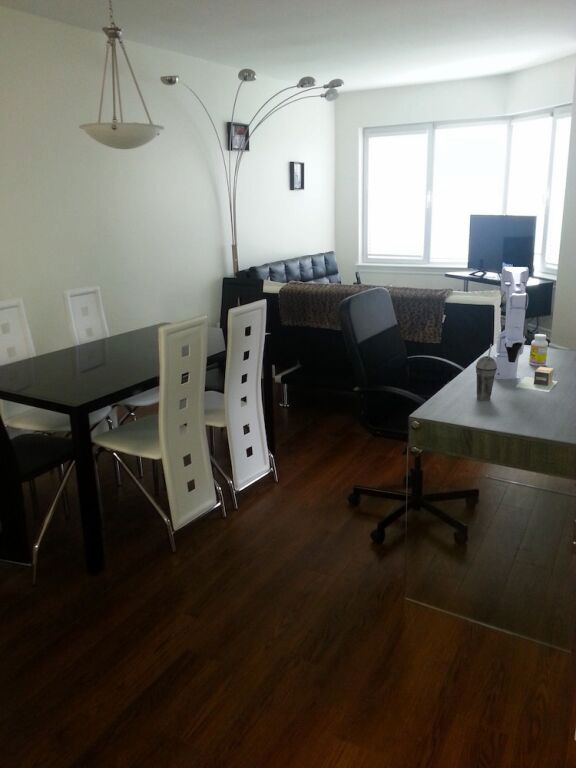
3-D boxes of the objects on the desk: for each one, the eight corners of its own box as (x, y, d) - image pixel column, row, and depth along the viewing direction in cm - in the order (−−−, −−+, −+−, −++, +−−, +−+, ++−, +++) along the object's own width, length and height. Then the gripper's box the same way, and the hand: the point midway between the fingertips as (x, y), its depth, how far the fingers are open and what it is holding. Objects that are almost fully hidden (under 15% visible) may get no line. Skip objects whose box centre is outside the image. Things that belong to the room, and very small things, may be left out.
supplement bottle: (526, 362, 265) (529, 333, 261) (542, 362, 265) (545, 333, 261) (532, 366, 259) (535, 336, 255) (547, 366, 259) (551, 336, 255)
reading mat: (548, 392, 225) (548, 392, 225) (515, 387, 231) (515, 386, 231) (557, 381, 237) (557, 381, 237) (525, 377, 244) (525, 376, 244)
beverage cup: (468, 396, 221) (473, 342, 215) (485, 394, 224) (490, 341, 218) (481, 402, 215) (486, 347, 209) (498, 400, 217) (503, 345, 211)
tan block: (548, 373, 230) (553, 368, 237) (535, 371, 233) (539, 366, 239) (547, 386, 232) (551, 380, 238) (533, 383, 234) (538, 378, 241)
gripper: (521, 330, 217) (518, 367, 221) (531, 323, 228) (527, 359, 232) (501, 328, 221) (498, 365, 225) (512, 321, 232) (508, 356, 236)
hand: (511, 361), depth 229 cm, fingers closed
